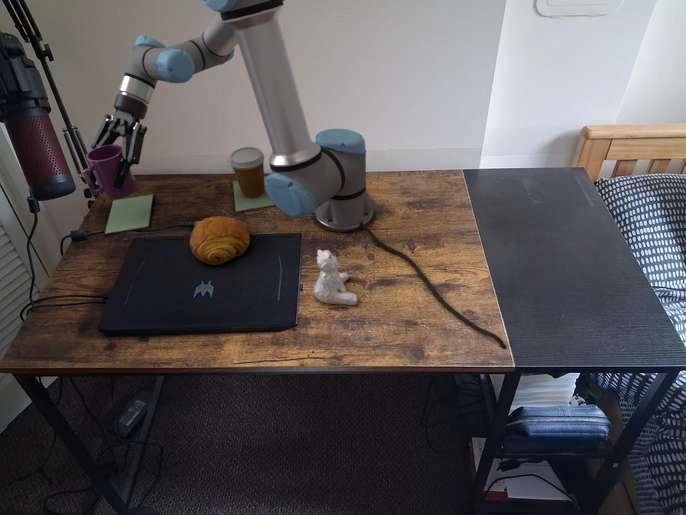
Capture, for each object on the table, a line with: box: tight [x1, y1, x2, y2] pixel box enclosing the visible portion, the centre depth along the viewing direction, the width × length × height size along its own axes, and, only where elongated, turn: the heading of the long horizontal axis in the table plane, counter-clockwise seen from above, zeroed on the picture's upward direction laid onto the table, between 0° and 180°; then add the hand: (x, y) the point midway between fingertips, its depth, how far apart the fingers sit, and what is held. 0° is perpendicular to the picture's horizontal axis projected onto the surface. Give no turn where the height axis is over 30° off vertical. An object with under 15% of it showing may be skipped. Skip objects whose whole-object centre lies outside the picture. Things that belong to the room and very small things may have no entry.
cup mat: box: [232, 175, 276, 213], centre depth 131 cm, size 16×11×1 cm
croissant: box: [189, 215, 251, 266], centre depth 111 cm, size 14×16×8 cm
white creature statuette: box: [313, 249, 358, 306], centre depth 95 cm, size 10×9×12 cm
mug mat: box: [104, 193, 154, 235], centre depth 126 cm, size 16×11×1 cm
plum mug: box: [81, 144, 138, 200], centre depth 117 cm, size 12×9×11 cm
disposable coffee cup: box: [228, 146, 265, 198], centre depth 127 cm, size 10×10×12 cm
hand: (104, 183), depth 116 cm, fingers closed on plum mug, 9 cm apart
